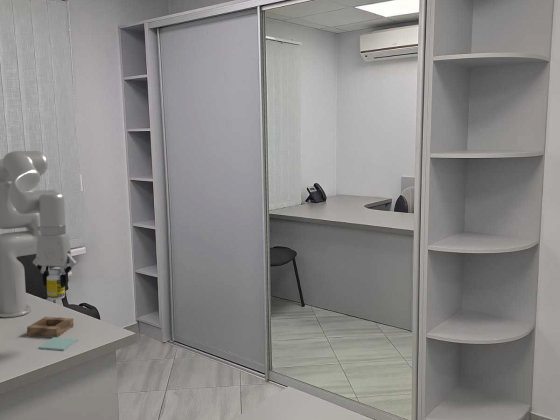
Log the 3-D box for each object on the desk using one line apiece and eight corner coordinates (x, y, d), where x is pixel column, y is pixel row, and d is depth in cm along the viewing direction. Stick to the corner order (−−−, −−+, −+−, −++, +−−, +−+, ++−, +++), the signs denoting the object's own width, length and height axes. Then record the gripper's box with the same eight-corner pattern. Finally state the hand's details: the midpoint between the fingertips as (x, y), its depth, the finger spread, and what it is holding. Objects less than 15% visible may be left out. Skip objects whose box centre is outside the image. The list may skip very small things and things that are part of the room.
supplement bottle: (58, 300, 178) (57, 271, 176) (44, 299, 179) (42, 270, 177) (68, 295, 183) (67, 267, 182) (54, 294, 184) (52, 266, 183)
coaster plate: (38, 348, 179) (38, 347, 179) (53, 338, 188) (53, 337, 188) (63, 350, 178) (63, 349, 178) (78, 340, 187) (78, 338, 187)
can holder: (27, 335, 191) (27, 327, 190) (45, 324, 202) (45, 316, 201) (56, 337, 189) (56, 329, 189) (73, 326, 200) (73, 318, 199)
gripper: (21, 231, 175) (24, 286, 178) (71, 233, 173) (74, 289, 175) (35, 227, 183) (38, 280, 185) (83, 229, 180) (85, 283, 183)
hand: (55, 284), depth 180 cm, fingers closed on supplement bottle, 5 cm apart
